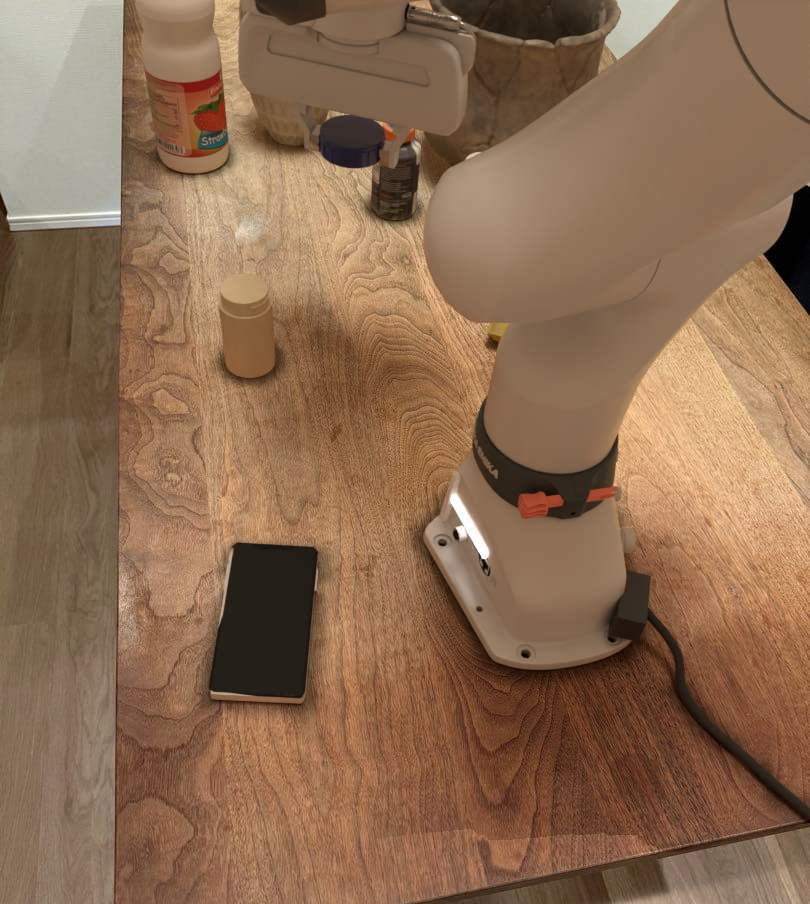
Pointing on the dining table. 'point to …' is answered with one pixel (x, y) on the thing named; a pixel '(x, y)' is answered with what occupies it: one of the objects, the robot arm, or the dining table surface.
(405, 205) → the pill bottle
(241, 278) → the jar
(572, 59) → the pot
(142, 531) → the dining table surface
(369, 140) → the lid
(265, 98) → the vase
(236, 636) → the smartphone
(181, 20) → the fruit juice
